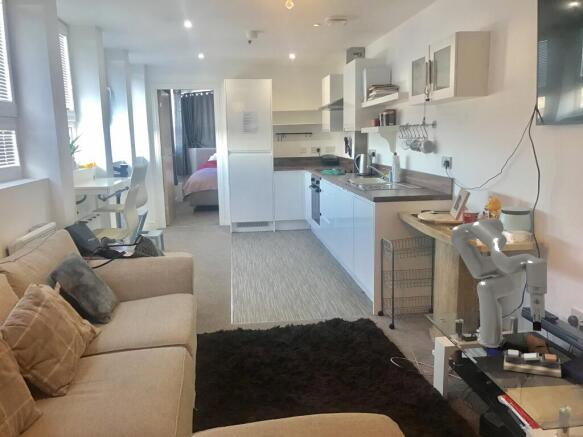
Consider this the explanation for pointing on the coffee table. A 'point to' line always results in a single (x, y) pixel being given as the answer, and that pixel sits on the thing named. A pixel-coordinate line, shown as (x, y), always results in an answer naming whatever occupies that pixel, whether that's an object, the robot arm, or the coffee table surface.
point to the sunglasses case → (536, 345)
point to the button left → (513, 353)
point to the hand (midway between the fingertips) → (537, 330)
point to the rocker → (531, 356)
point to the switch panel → (532, 365)
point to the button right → (550, 357)
